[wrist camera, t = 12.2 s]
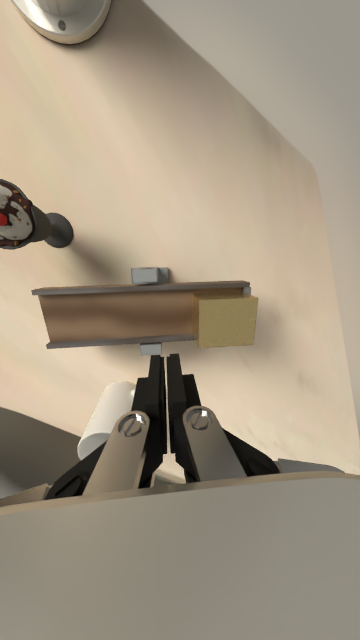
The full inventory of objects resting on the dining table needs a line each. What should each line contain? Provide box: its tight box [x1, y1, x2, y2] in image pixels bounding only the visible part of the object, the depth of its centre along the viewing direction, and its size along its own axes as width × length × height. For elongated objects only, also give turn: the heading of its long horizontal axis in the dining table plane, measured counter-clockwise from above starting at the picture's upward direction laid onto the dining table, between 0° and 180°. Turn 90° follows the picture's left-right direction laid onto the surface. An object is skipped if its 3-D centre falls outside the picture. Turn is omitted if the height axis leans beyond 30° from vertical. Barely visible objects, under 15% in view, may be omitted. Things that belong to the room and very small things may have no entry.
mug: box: [78, 381, 136, 460], centre depth 33 cm, size 8×12×12 cm
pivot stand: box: [131, 267, 168, 355], centre depth 29 cm, size 12×6×8 cm, turn 1°
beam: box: [31, 281, 251, 349], centre depth 27 cm, size 8×28×6 cm, turn 92°
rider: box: [192, 291, 258, 348], centre depth 25 cm, size 6×7×5 cm
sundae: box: [0, 179, 73, 249], centre depth 22 cm, size 7×7×15 cm
